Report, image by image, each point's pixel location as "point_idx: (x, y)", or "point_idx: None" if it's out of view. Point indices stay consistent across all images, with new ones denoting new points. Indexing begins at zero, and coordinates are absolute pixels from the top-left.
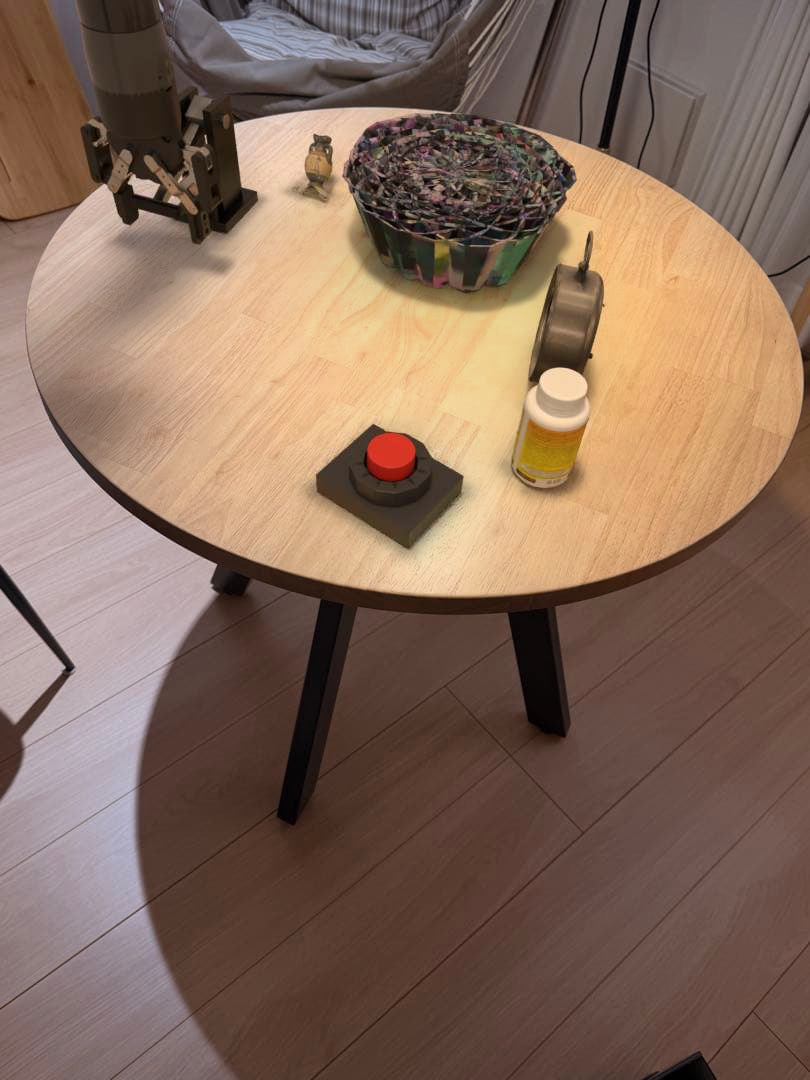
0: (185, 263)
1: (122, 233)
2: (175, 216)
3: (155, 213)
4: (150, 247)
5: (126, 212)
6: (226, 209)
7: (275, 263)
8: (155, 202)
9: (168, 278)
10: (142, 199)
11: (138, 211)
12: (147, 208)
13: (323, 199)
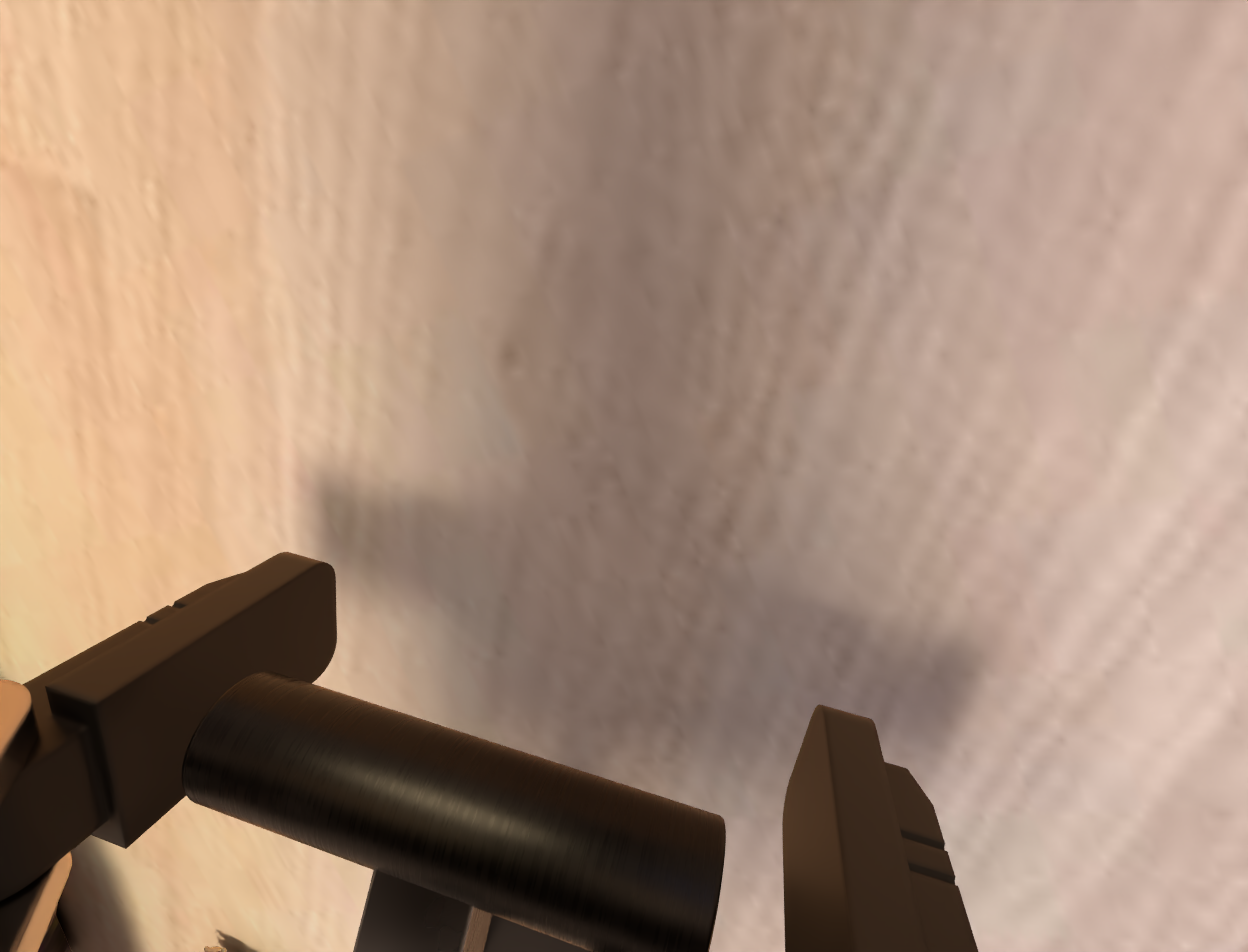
0: (511, 533)
1: (944, 739)
2: (242, 685)
3: (470, 736)
4: (739, 637)
5: (827, 793)
6: None
7: (176, 592)
8: (416, 846)
9: (539, 389)
10: (565, 894)
11: (783, 840)
12: (528, 784)
13: (218, 947)
